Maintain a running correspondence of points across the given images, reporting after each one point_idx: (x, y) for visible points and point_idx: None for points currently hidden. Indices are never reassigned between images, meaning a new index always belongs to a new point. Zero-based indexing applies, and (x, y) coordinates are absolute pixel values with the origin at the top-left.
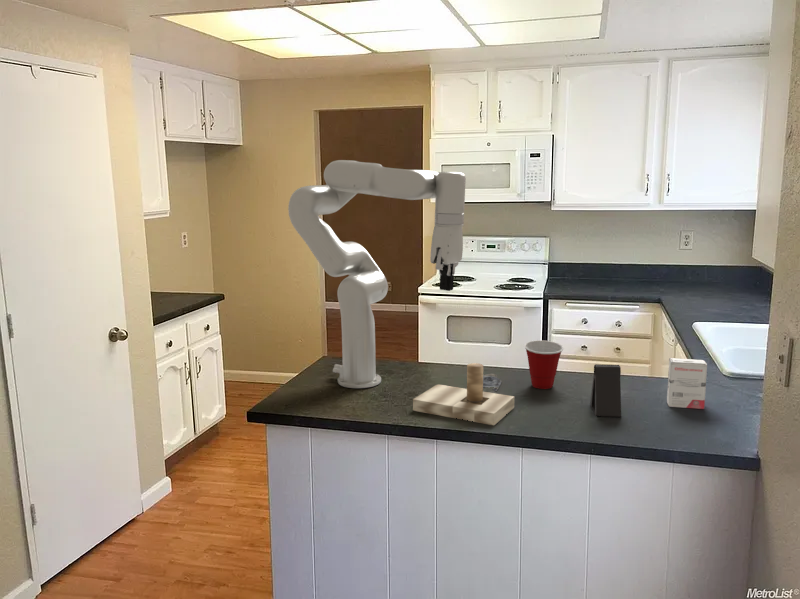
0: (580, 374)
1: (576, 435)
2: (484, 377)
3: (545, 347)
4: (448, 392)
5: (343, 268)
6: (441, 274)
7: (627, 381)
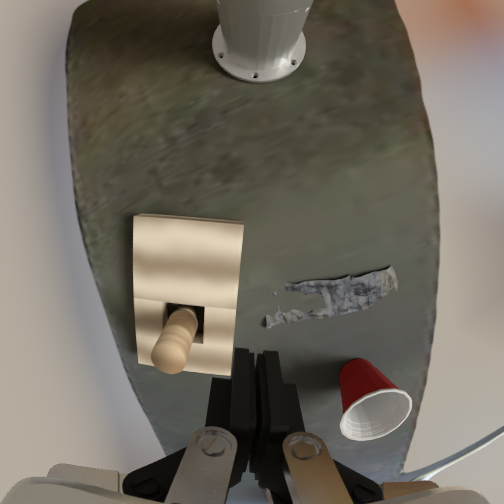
0: (416, 393)
1: (169, 432)
2: (367, 280)
3: (401, 403)
4: (200, 266)
5: None
6: (196, 443)
7: (391, 439)
